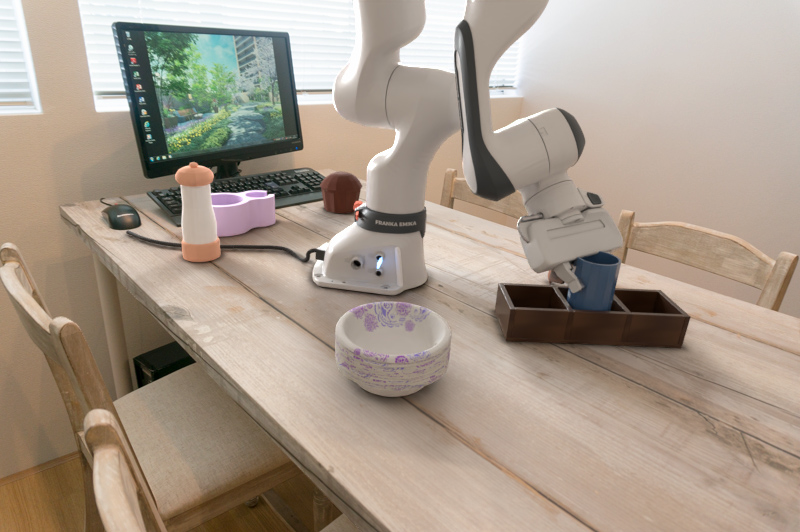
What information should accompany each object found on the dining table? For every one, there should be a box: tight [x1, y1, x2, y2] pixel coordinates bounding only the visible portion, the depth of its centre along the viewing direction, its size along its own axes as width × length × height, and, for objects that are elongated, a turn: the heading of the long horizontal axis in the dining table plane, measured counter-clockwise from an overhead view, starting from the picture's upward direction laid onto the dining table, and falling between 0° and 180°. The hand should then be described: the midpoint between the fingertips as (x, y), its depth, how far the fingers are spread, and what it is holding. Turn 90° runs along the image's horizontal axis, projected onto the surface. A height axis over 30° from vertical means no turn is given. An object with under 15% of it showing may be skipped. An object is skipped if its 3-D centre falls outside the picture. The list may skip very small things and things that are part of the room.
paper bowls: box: [334, 300, 452, 398], centre depth 71 cm, size 15×15×8 cm
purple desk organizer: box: [211, 189, 276, 238], centre depth 126 cm, size 20×12×7 cm, turn 132°
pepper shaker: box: [174, 161, 221, 263], centre depth 105 cm, size 7×7×19 cm
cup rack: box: [494, 282, 691, 349], centre depth 87 cm, size 28×10×6 cm, turn 91°
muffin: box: [319, 170, 363, 215], centre depth 144 cm, size 12×11×10 cm
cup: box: [566, 251, 622, 311], centre depth 84 cm, size 7×7×10 cm
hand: (595, 285), depth 84 cm, fingers closed on cup, 7 cm apart
